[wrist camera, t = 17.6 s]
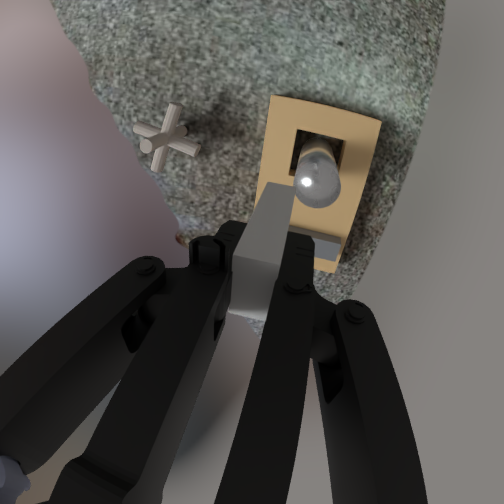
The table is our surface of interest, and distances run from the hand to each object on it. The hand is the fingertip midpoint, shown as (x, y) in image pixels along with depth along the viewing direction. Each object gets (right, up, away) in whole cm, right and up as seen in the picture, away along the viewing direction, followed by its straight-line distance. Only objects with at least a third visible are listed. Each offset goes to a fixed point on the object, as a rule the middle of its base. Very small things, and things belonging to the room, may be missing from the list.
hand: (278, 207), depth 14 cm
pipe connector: (-12, +16, +23) cm, 30 cm away
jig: (+7, +7, +24) cm, 26 cm away
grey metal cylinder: (+8, +11, +21) cm, 25 cm away
